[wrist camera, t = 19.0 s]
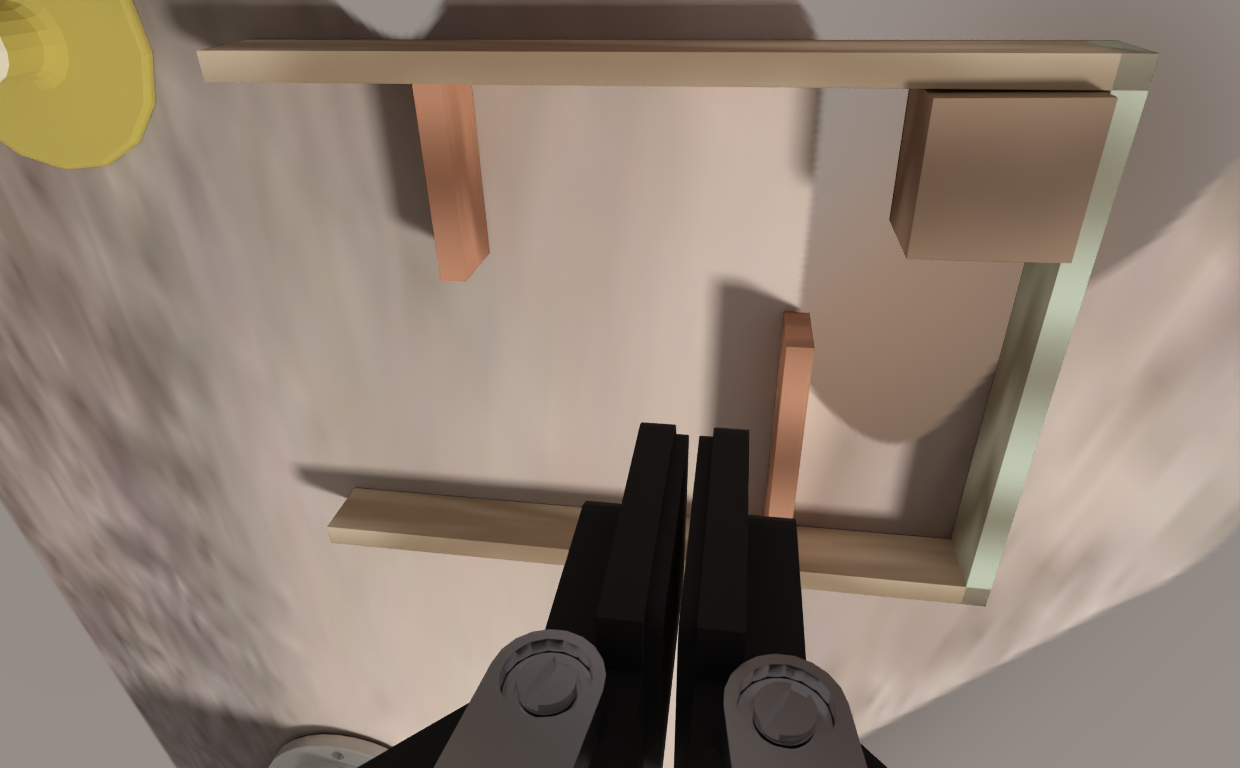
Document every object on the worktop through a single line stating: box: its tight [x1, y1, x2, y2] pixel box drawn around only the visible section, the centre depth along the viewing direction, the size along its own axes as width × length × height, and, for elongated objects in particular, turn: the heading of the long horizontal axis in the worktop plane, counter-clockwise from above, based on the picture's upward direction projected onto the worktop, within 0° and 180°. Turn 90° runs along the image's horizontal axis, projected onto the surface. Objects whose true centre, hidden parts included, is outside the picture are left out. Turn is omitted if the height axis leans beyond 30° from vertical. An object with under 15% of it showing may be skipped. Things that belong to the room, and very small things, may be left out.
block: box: [889, 89, 1118, 263], centre depth 25 cm, size 5×5×4 cm
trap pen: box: [197, 40, 1160, 606], centre depth 31 cm, size 22×30×3 cm
